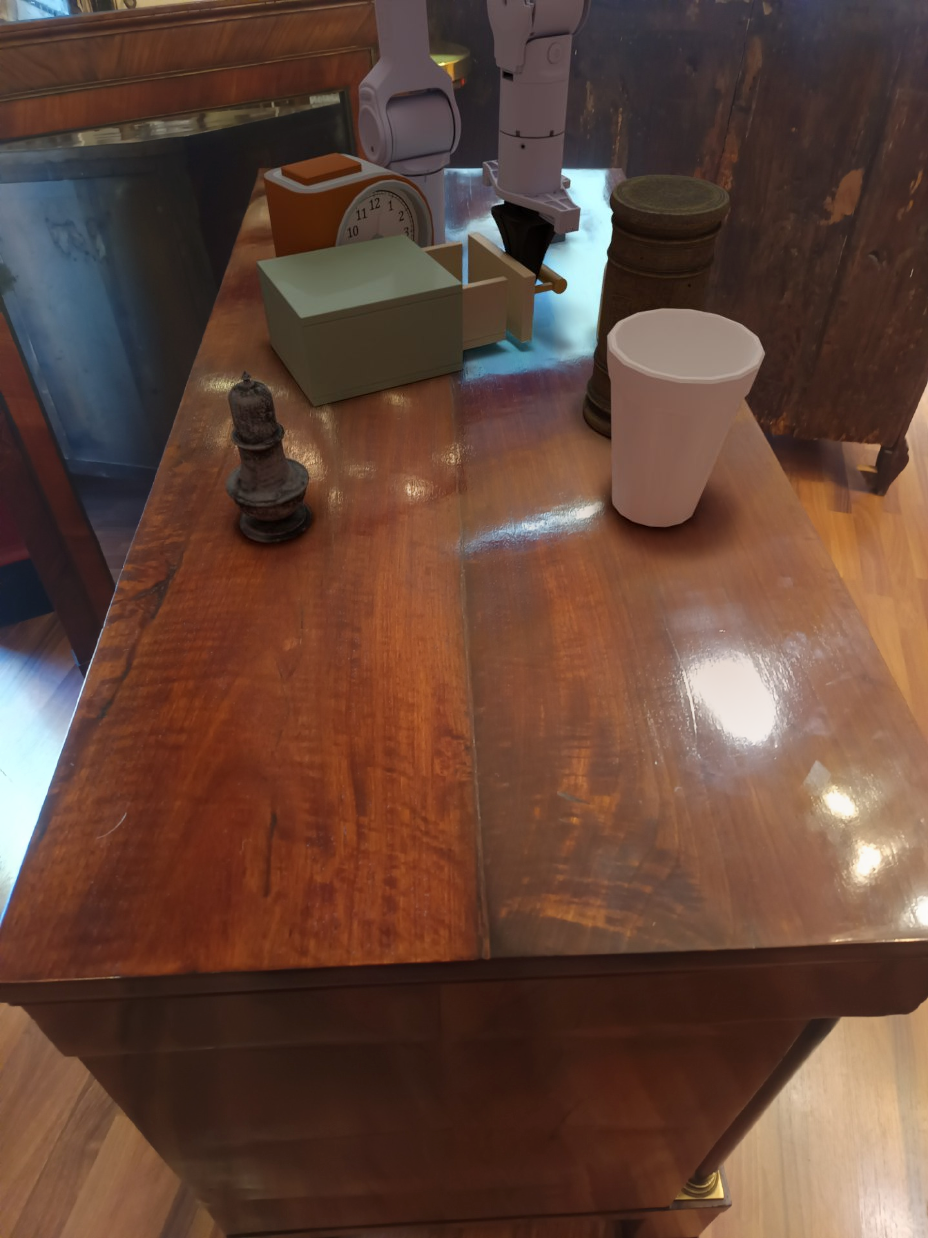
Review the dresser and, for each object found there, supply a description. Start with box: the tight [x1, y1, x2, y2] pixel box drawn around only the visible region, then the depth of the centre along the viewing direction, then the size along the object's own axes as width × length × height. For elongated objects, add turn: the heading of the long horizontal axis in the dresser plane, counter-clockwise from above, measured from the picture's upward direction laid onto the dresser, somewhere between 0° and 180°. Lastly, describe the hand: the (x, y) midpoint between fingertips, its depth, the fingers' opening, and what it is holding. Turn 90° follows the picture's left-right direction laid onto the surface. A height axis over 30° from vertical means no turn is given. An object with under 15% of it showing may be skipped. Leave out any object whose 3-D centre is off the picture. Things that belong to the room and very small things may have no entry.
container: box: [582, 174, 731, 439], centre depth 64 cm, size 9×9×18 cm
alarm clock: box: [262, 152, 434, 258], centre depth 82 cm, size 15×8×14 cm, turn 132°
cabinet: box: [255, 234, 464, 408], centre depth 75 cm, size 15×13×8 cm
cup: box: [607, 309, 766, 528], centre depth 57 cm, size 10×10×13 cm
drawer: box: [421, 231, 568, 351], centre depth 78 cm, size 18×11×6 cm, turn 116°
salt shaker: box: [225, 370, 313, 544], centre depth 56 cm, size 6×6×12 cm
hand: (523, 284), depth 81 cm, fingers closed
